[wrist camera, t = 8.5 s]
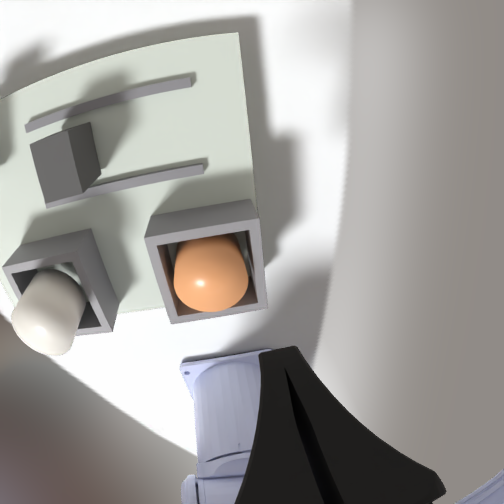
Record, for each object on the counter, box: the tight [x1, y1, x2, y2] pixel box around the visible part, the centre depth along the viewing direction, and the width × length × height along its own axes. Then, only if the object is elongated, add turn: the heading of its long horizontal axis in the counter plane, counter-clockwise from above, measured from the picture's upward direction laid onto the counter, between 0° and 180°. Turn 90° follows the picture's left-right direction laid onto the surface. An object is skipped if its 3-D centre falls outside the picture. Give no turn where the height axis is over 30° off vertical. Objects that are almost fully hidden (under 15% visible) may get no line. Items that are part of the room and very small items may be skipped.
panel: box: [0, 32, 268, 336], centre depth 15 cm, size 15×18×5 cm
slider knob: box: [29, 122, 102, 204], centre depth 12 cm, size 3×2×3 cm
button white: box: [11, 269, 86, 356], centre depth 14 cm, size 4×4×3 cm
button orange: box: [174, 233, 248, 312], centre depth 16 cm, size 4×4×3 cm
